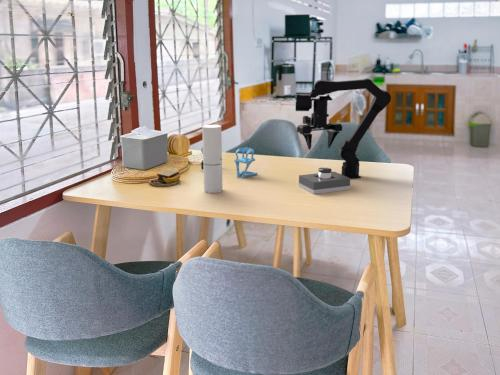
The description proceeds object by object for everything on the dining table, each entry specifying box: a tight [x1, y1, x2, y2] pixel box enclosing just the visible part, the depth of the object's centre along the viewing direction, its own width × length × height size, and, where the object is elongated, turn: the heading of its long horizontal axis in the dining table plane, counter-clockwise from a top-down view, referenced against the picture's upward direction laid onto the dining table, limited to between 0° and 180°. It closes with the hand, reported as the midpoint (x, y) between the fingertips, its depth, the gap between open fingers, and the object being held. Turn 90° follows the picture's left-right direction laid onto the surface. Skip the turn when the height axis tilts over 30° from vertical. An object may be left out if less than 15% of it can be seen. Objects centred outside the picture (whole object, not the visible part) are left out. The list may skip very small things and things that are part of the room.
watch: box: [200, 146, 204, 170], centre depth 247 cm, size 6×8×11 cm
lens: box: [317, 167, 333, 179], centre depth 213 cm, size 5×5×6 cm
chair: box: [234, 146, 258, 179], centre depth 233 cm, size 8×8×12 cm
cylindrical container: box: [201, 124, 223, 194], centre depth 209 cm, size 7×7×25 cm
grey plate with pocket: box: [298, 171, 351, 195], centre depth 214 cm, size 16×12×4 cm
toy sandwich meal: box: [148, 167, 181, 187], centre depth 224 cm, size 12×14×5 cm
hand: (319, 148), depth 229 cm, fingers open, 9 cm apart
